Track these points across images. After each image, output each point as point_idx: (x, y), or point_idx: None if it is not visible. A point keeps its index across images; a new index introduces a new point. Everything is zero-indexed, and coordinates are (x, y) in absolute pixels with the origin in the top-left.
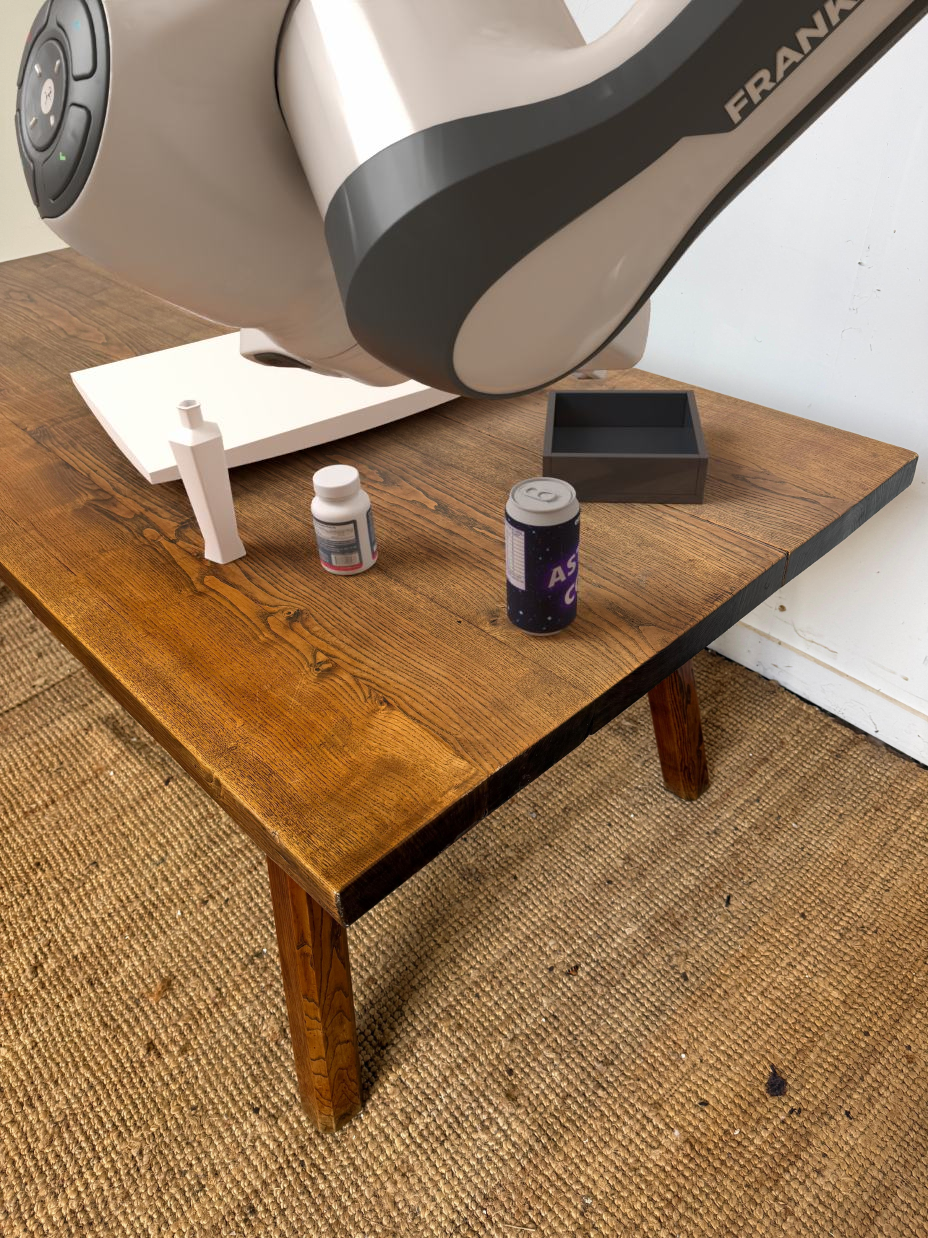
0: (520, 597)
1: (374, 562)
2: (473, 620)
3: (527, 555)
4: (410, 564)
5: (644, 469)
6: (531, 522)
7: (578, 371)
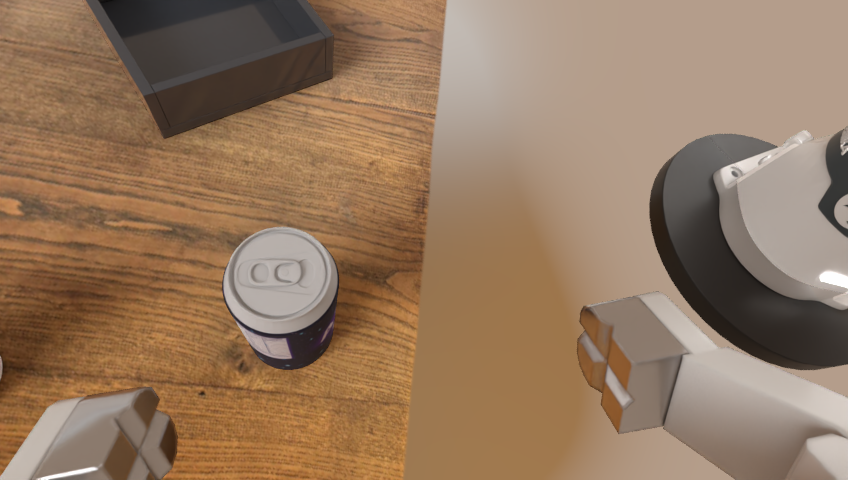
0: (285, 361)
1: (2, 366)
2: (217, 379)
3: (293, 345)
4: (61, 334)
5: (271, 67)
6: (295, 329)
7: (653, 425)
